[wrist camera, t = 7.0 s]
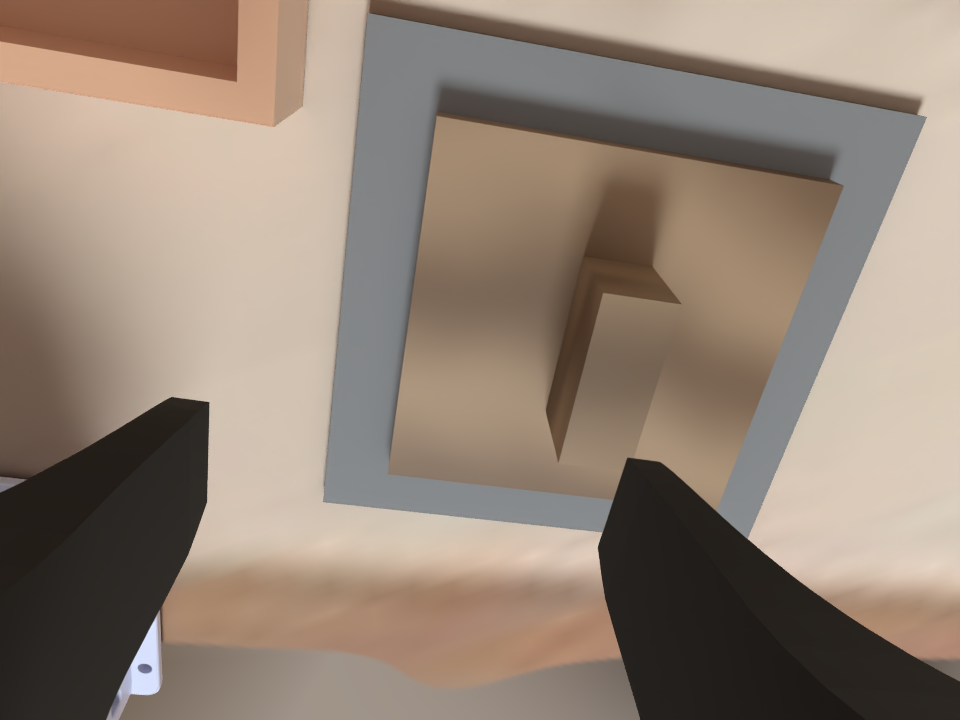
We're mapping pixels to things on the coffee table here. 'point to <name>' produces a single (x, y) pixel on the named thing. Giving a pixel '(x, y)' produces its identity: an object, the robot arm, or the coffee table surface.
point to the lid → (594, 308)
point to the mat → (604, 116)
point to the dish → (162, 53)
